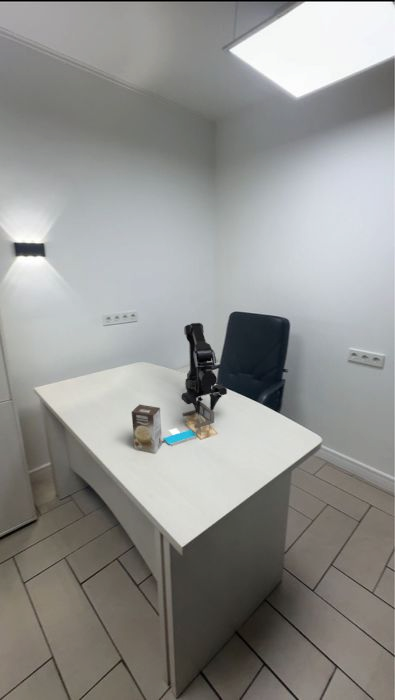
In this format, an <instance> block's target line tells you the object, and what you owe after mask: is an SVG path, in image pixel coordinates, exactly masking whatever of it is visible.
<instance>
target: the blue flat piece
mask: <svg viewBox="0 0 395 700" xmlns="http://www.w3.org/2000/svg"><path fill="white" fill-rule="evenodd" d="M168 432H169V433H170V434H171V435H169V436H166V437H163V439H162V444H164V443H165V444H167V445H170V447H173V446H177V445H180V444H183V443H186V442H188V441H192V440H195V439H196V438H197V436H196V434H195V433H193V432H192V431H191V430H190V429H189V430H184V431H182V432H180V430H179V429H178V428H177V427H175V428H171V429H168Z"/></svg>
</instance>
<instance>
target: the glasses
mask: <svg viewBox="0 0 395 700" xmlns="http://www.w3.org/2000/svg"><path fill="white" fill-rule="evenodd" d="M192 414H196V415H197V412H196V410H195V409H193V410H190V411H187V412H186V411H185V412H183V413H182V417H183V418H184V417H185V418H186V416H188V415H192ZM199 415H200V416H202V417H204V418H205V419H206V420H207V421H205V422H202V423H198V424H195V428H199V427H202V426H206V425H209V424H210V425H211V424H214V423H215V411H214V410H213V411H212V410H211V409H210V407H209V406H207V405H206V404H205V403H203V402H202V400H201V401H200V413H199Z"/></svg>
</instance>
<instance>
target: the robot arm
mask: <svg viewBox="0 0 395 700" xmlns="http://www.w3.org/2000/svg"><path fill="white" fill-rule="evenodd" d="M183 332H184V336H185V338H186V339H187V341H188V344H189V345H188V346H189V347H188V348H189V350H188V351H189V354H188V355H189V370H188V372H187V373H186V378H185V382H184V385H185V389H186V392H182V394H180V396H181V398H180V399H181V400H182V401H183V402H184V403H185V404H186V405H191V404H192V405H193V408H194V410H196V412H197V413H196V415H197V416H198V415H200V414H199V413H200V401H201V402H202V401H203V400H204V399H203V398H202V397H205V396H208V395H209V401H210V402H209V405H210V407H209V408H210V409H211V410H212V411H214V409H215V406H216V404H217V403H218V401H219V400H220V398H222V397H223V396H225V395H227V393H228V390H227V387H225V386H224V385H222V384H221V383H219V384H216V383H217V380H218V378H217V375H216V374H215V373H214V371H213V368H214V367H216V366H217V365H216V364H217V357H216V353H215V351H214V350H213V349H212V346H211V344H209V343H208V342H207V341H206V338H205V335H204V333H205V331H204V325H203V324H202V323H201V322H193V323H192V322H191V323H189V324H186V325H185V326H184V328H183Z"/></svg>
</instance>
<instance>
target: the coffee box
mask: <svg viewBox="0 0 395 700" xmlns="http://www.w3.org/2000/svg"><path fill="white" fill-rule="evenodd" d="M161 418H162V417H161V408H160V407H157V406H152V405H150V406H149V405H147V404H146V405H144V404H140V403H139V404H138V405H137V406H136V407H135V408H134V409H133V410H131V420H132V432H133V433H132V434H133V445H134V450H136V451H142V452H147V453H151V454H156V453H157V452H158V450H159V449H160V448H161V447H162V445H163V443H162V441H163V438H162V420H161Z"/></svg>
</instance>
